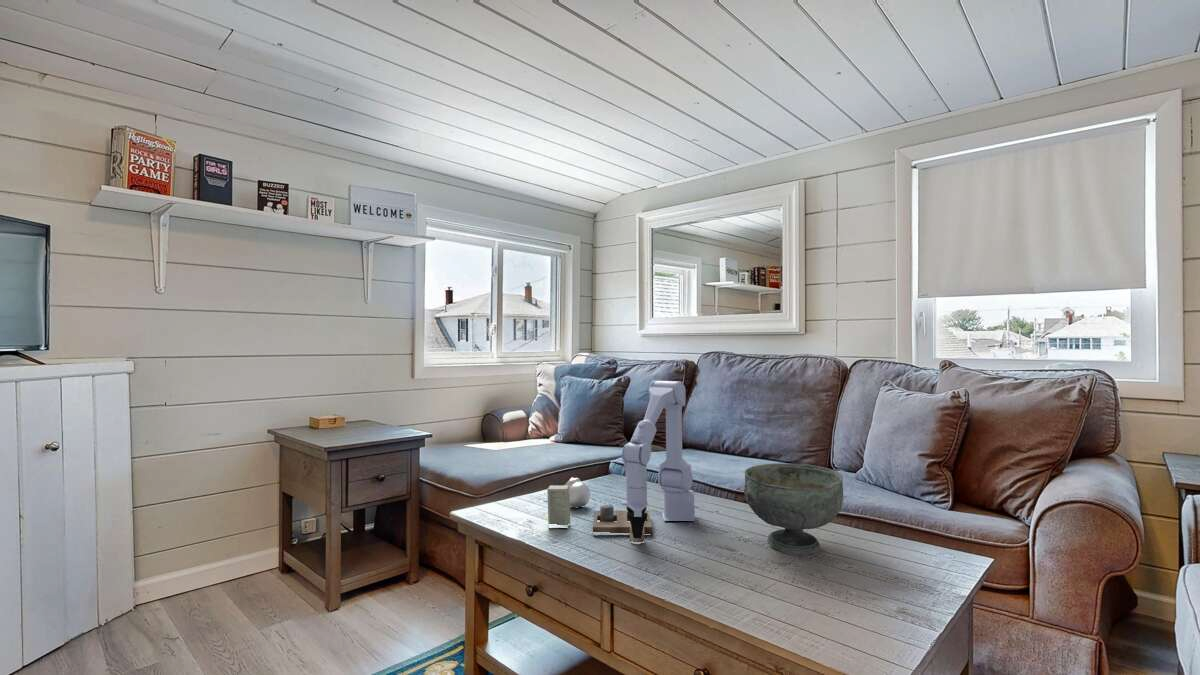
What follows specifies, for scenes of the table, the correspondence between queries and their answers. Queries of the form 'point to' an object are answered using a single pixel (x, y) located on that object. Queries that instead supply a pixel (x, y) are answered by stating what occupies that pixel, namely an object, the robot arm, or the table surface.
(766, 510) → the decorative bowl
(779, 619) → the table surface
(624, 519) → the pocket board
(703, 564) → the table surface
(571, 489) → the ghost figurine
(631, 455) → the robot arm
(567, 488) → the skincare box
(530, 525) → the table surface
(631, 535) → the birch peg
